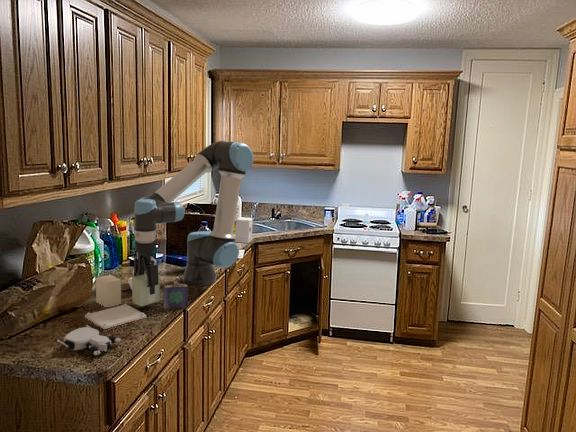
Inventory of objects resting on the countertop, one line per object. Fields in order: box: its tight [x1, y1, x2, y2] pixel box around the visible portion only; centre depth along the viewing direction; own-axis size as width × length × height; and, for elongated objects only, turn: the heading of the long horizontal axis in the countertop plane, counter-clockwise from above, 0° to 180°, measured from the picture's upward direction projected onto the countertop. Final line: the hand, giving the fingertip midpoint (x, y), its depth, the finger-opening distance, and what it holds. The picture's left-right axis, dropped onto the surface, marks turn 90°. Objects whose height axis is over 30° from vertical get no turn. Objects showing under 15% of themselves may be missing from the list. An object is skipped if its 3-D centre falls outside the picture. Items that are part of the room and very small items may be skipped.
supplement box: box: [234, 216, 254, 244], centre depth 292 cm, size 9×9×15 cm
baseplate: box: [84, 303, 147, 329], centre depth 164 cm, size 16×14×2 cm
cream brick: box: [95, 274, 122, 308], centre depth 177 cm, size 6×8×10 cm
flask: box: [162, 280, 189, 310], centre depth 177 cm, size 9×3×11 cm, turn 109°
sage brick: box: [131, 273, 161, 307], centre depth 174 cm, size 8×6×10 cm
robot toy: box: [56, 324, 122, 356], centre depth 141 cm, size 12×4×15 cm
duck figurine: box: [127, 269, 146, 290], centre depth 191 cm, size 12×8×11 cm
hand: (146, 299), depth 175 cm, fingers closed on sage brick, 6 cm apart
